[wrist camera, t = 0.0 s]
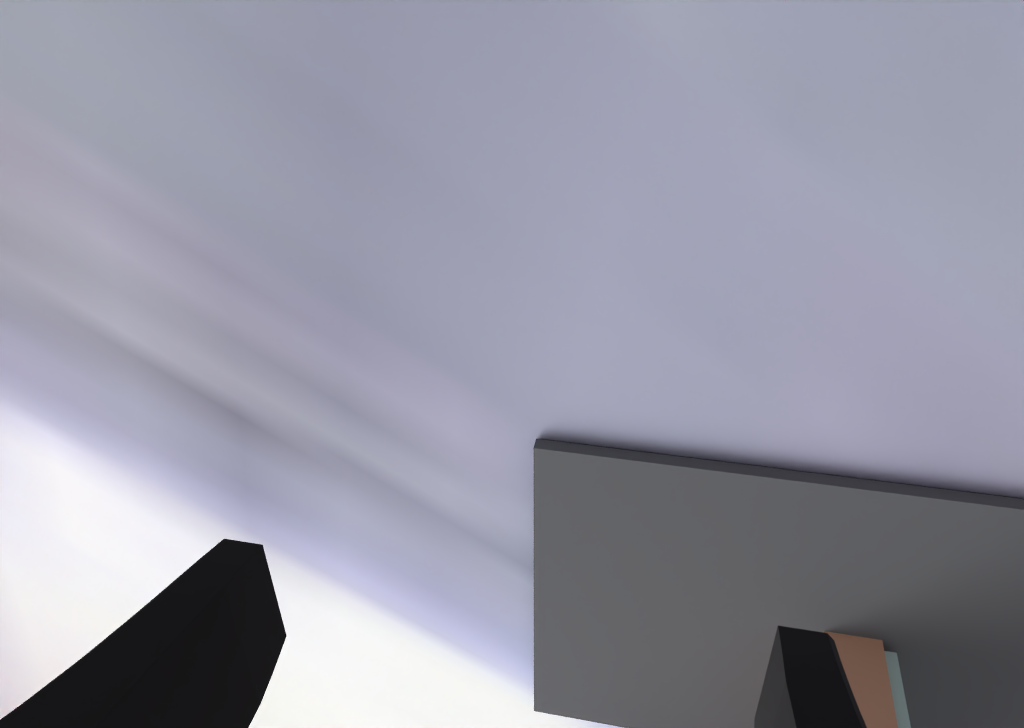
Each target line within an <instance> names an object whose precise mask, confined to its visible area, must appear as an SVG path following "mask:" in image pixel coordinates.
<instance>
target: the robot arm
mask: <svg viewBox="0 0 1024 728" xmlns="http://www.w3.org/2000/svg"><path fill="white" fill-rule="evenodd" d="M285 638H286V633H285V629H284V625H283V621H282V617H281V613H280V610H279V606H278V602H277V598H276V594H275V591H274V587H273V583H272V579H271V575H270V572H269V568H268V564H267V560H266V556H265V552H264V549H263V545H260V544H254V543H248V542H241V541H235V540H229V539H223V540H222V541H221V542H220V543H218V544H217V545H216V546H215V547H214V548H212V549H211V550H210V551H209V552H208V553H206V554H205V555H204V556H203V557H202V558H200V559H199V560H198V561H197V562H196V563H194V564H193V565H192V566H191V567H190V568H189V569H187V570H186V571H185V572H184V573H183V574H182V575H180V576H179V577H178V578H177V579H176V580H175V581H173V582H172V583H171V584H170V585H169V586H168V587H166V588H165V589H164V590H163V591H162V592H161V593H159V594H158V595H157V596H156V597H155V598H154V599H152V600H151V601H150V602H149V603H148V604H147V605H145V606H144V607H143V608H142V609H141V610H140V611H138V612H137V613H136V614H135V615H134V616H132V617H131V618H130V619H129V620H128V621H126V622H125V623H124V624H123V625H121V626H120V627H119V628H118V629H117V630H115V631H114V632H113V633H112V634H111V635H109V636H108V637H107V638H106V639H104V640H103V641H102V642H101V643H100V644H98V645H97V646H96V647H95V648H94V649H92V650H91V651H90V652H89V653H87V654H86V655H85V656H84V657H82V658H81V659H80V660H79V661H77V662H76V663H75V664H74V665H72V666H71V667H70V668H68V669H67V670H66V671H64V672H63V673H62V674H61V675H59V676H58V677H57V678H55V679H54V680H53V681H51V682H50V683H49V684H47V685H46V686H45V687H44V688H42V689H41V690H40V691H38V692H37V693H36V694H34V695H33V696H32V697H30V698H29V699H28V700H27V701H25V702H24V703H23V704H21V705H20V706H19V707H17V708H16V709H14V710H13V711H12V712H10V713H9V714H8V715H6V716H5V717H3V718H2V719H1V720H0V728H248V727H249V725H250V723H251V721H252V719H253V717H254V715H255V714H256V712H257V710H258V708H259V706H260V704H261V701H262V699H263V696H264V694H265V691H266V689H267V686H268V684H269V681H270V679H271V676H272V674H273V671H274V668H275V666H276V663H277V660H278V657H279V655H280V652H281V649H282V647H283V644H284V641H285ZM754 728H867V727H866V724H865V722H864V719H863V717H862V715H861V712H860V710H859V707H858V705H857V702H856V700H855V697H854V695H853V692H852V689H851V687H850V684H849V681H848V679H847V676H846V673H845V671H844V668H843V665H842V662H841V659H840V656H839V653H838V650H837V647H836V644H835V641H834V640H833V639H832V637H831V636H830V635H829V634H828V633H823V632H817V631H811V630H804V629H798V628H791V627H785V626H779V625H778V627H777V631H776V635H775V639H774V643H773V647H772V651H771V655H770V659H769V663H768V667H767V671H766V675H765V679H764V683H763V687H762V691H761V695H760V699H759V703H758V707H757V711H756V714H755V718H754Z"/></svg>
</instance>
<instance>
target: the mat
mask: <svg viewBox="0 0 1024 728" xmlns="http://www.w3.org/2000/svg"><path fill="white" fill-rule="evenodd" d="M778 625H779V626H785V627H791V628H798V629H804V630H811V631H817V632H824V631H827V632H833V633H840V634H846V635H853V636H859V637H865V638H872V639H878V640H882V641H883V646H884V651H889V652H895V653H897V657H898V662H899V667H900V673H901V678H902V683H903V688H904V694H905V699H906V704H907V709H908V714H909V720H910V725H911V728H1024V499H1019V498H1011V497H1003V496H995V495H987V494H978V493H970V492H962V491H954V490H946V489H938V488H930V487H922V486H914V485H906V484H898V483H890V482H881V481H873V480H865V479H857V478H849V477H841V476H833V475H825V474H817V473H809V472H801V471H793V470H785V469H776V468H768V467H760V466H752V465H744V464H736V463H728V462H720V461H712V460H704V459H696V458H688V457H679V456H671V455H663V454H655V453H647V452H639V451H631V450H623V449H615V448H607V447H599V446H591V445H582V444H574V443H566V442H558V441H550V440H542V439H536V442H535V446H534V711H538V712H543V713H548V714H554V715H559V716H565V717H570V718H576V719H581V720H587V721H592V722H597V723H603V724H608V725H614V726H619V727H625V728H754V718H755V714H756V711H757V707H758V703H759V699H760V695H761V691H762V687H763V683H764V679H765V675H766V671H767V667H768V663H769V659H770V655H771V651H772V647H773V643H774V639H775V635H776V631H777V627H778Z"/></svg>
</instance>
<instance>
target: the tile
mask: <svg viewBox="0 0 1024 728" xmlns="http://www.w3.org/2000/svg"><path fill="white" fill-rule="evenodd" d="M823 633H828V634H829V635H830V636H831V637H832V639H833V640H834V641H835V644H836V647H837V650H838V653H839V656H840V659H841V662H842V665H843V668H844V671H845V673H846V676H847V679H848V681H849V684H850V687H851V689H852V692H853V695H854V697H855V700H856V702H857V705H858V707H859V710H860V712H861V715H862V717H863V719H864V722H865V724H866V727H867V728H911V725H910V720H909V714H908V709H907V704H906V699H905V694H904V688H903V683H902V678H901V673H900V667H899V662H898V657H897V653H895V652H889V651H884V646H883V641H882V640H878V639H872V638H865V637H859V636H853V635H846V634H840V633H833V632H827V631H824V632H823Z"/></svg>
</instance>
